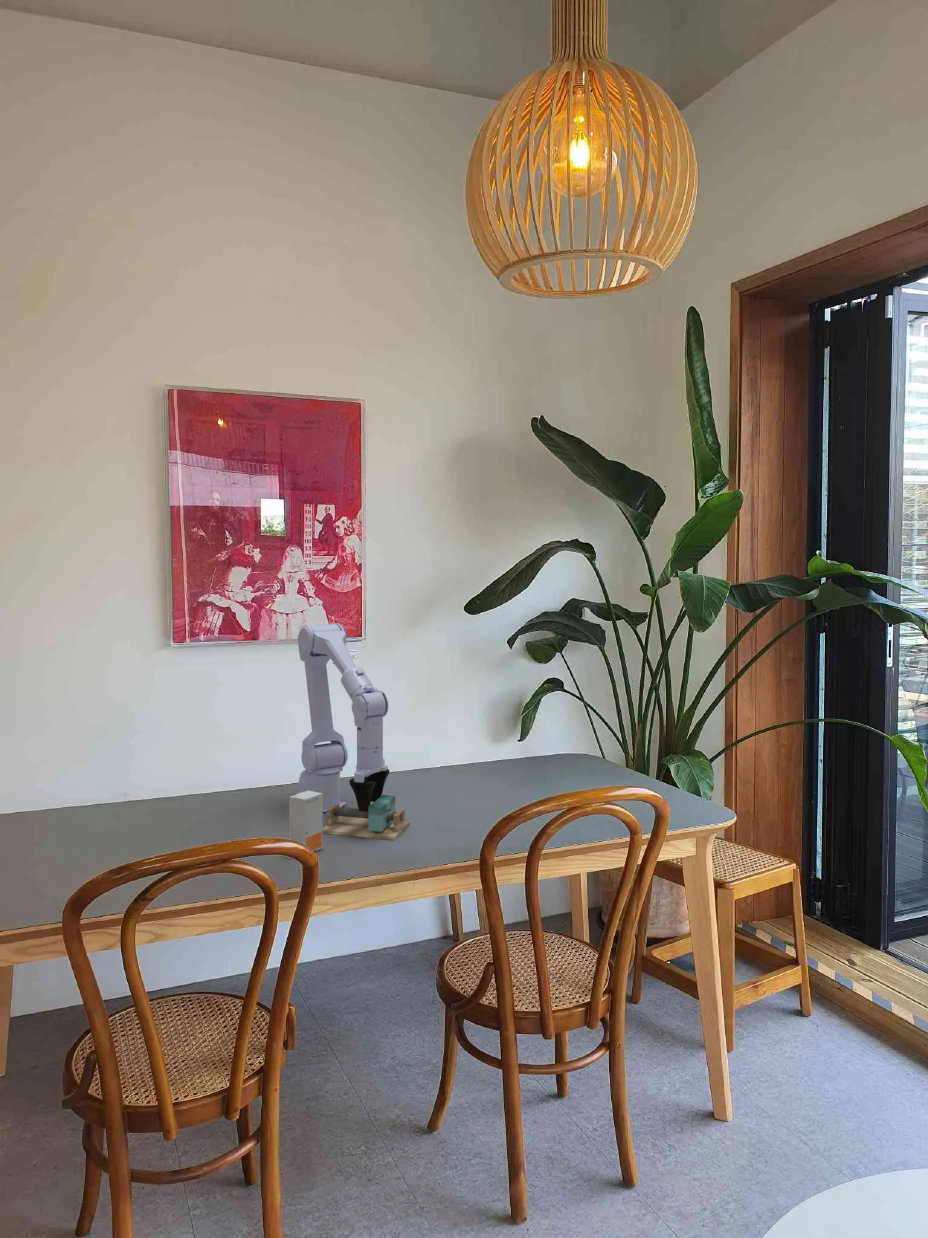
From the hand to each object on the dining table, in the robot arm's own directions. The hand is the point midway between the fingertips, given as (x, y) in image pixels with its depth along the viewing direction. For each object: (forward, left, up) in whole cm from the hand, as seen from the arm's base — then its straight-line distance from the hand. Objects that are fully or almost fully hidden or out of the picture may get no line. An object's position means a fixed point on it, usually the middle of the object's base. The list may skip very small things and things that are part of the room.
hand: (369, 806), depth 217 cm
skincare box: (-8, -17, -6) cm, 20 cm away
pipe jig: (-1, 0, -5) cm, 5 cm away
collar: (+3, 0, -4) cm, 5 cm away
